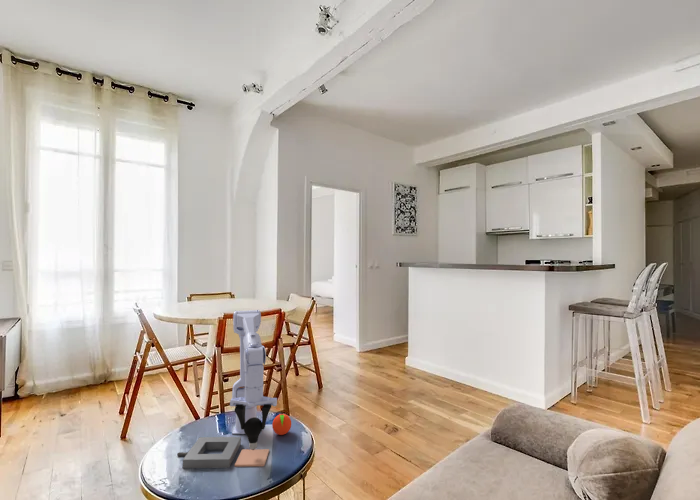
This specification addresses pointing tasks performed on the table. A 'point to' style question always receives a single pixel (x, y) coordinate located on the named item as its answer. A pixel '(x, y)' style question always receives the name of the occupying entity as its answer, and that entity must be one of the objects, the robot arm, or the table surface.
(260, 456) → the terracotta tile
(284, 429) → the clementine
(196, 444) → the socket block
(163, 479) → the table surface
